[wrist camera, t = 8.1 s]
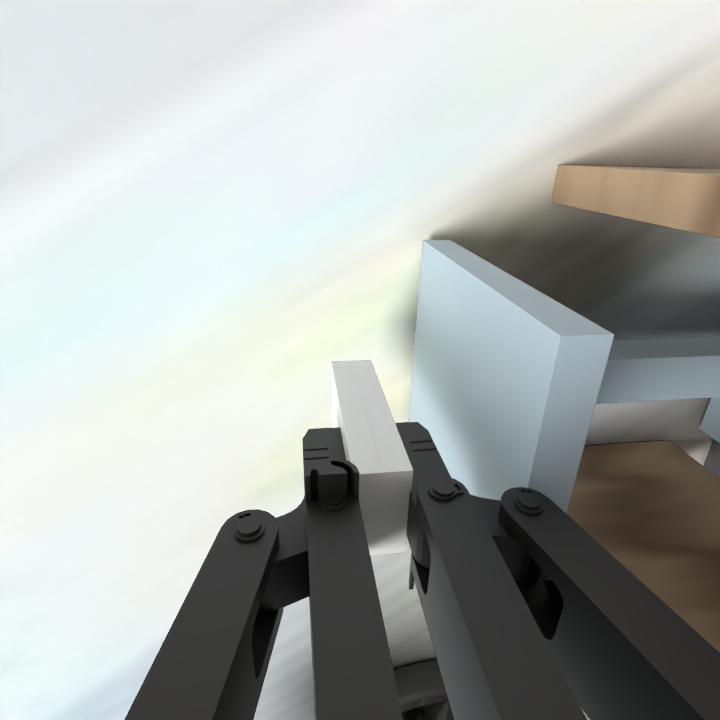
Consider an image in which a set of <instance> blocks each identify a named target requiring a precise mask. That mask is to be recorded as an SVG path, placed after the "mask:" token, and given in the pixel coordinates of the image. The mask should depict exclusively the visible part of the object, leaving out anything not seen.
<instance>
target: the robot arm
mask: <svg viewBox="0 0 720 720" xmlns="http://www.w3.org/2000/svg"><path fill="white" fill-rule="evenodd" d="M331 416H332V428H320V429H309V430H308V431H307V433H306V434H305V436H304V438H303V461H304V487H305V496H304V499H303V501H302V503H301V504H300V505H299V506H298V507H297V508H296V509H295V510H293V511H292V512H290V513H288V514H285V515H283V516H280V517H277V518H275V517H274V516H273V515H271V514H270V513H268V512H266V511H262V510H246V511H243V512H240V513H237V514H235V515H234V516H232V517H230V518H229V519H227V521H226V522H225V523H224V525H223V526H222V527H221V529H220V531H219V533H218V535H217V537H216V539H215V541H214V543H213V545H212V547H211V549H210V551H209V553H208V555H207V557H206V559H205V561H204V563H203V565H202V567H201V569H200V571H199V573H198V575H197V577H196V579H195V581H194V583H193V585H192V587H191V589H190V591H189V593H188V595H187V597H186V599H185V601H184V603H183V604H182V606H181V608H180V610H179V612H178V614H177V616H176V618H175V620H174V622H173V624H172V626H171V628H170V630H169V632H168V634H167V636H166V638H165V640H164V642H163V644H162V646H161V648H160V650H159V652H158V654H157V656H156V658H155V660H154V662H153V664H152V666H151V668H150V670H149V672H148V674H147V676H146V678H145V680H144V682H143V684H142V686H141V688H140V690H139V692H138V694H137V696H136V698H135V700H134V702H133V704H132V706H131V708H130V710H129V712H128V714H127V716H126V718H125V720H253V719H254V715H255V711H256V708H257V704H258V701H259V697H260V693H261V690H262V686H263V682H264V679H265V675H266V672H267V668H268V664H269V661H270V657H271V654H272V650H273V646H274V643H275V639H276V635H277V632H278V628H279V625H280V621H281V617H282V614H283V607H285V606H287V605H290V604H292V603H294V602H297V601H299V600H301V599H304V598H306V597H308V596H309V601H310V623H311V644H312V666H313V687H314V708H315V720H587V719H586V717H585V715H584V714H583V712H582V710H581V708H582V709H583V710H584V712H585V713H586V714H587V716H588V717H589V718H590V720H720V652H718V651H717V650H716V649H715V648H714V647H713V646H712V645H711V644H710V643H708V642H707V641H706V640H705V639H704V638H703V637H702V636H701V635H700V634H699V633H697V632H696V631H695V630H694V629H693V628H692V627H691V626H690V625H689V624H687V623H686V622H685V621H684V620H683V619H682V618H681V617H680V616H679V615H678V614H676V613H675V612H674V611H673V610H672V609H671V608H670V607H669V606H668V605H667V604H665V603H664V602H663V601H662V600H661V599H660V598H659V597H658V596H657V595H655V594H654V593H653V592H652V591H651V590H650V589H649V588H648V587H647V586H646V585H644V584H643V583H642V582H641V581H640V580H639V579H638V578H637V577H636V576H634V575H633V574H632V573H631V572H630V571H629V570H628V569H627V568H626V567H625V566H623V565H622V564H621V563H620V562H619V561H618V560H617V559H616V558H615V557H614V556H612V555H611V554H610V553H609V552H608V551H607V550H606V549H605V548H604V547H602V546H601V545H600V544H599V543H598V542H597V541H596V540H595V539H594V538H593V537H591V536H590V535H589V534H588V533H587V532H586V531H585V530H584V529H583V528H581V527H580V526H579V525H578V524H577V523H576V522H575V521H574V520H573V519H572V518H570V517H569V516H568V515H567V514H566V513H565V512H564V511H563V510H562V509H561V508H559V507H558V506H557V505H556V504H555V503H554V502H553V501H552V500H551V499H549V498H548V497H547V496H545V495H544V494H542V493H541V492H538V491H536V490H533V489H530V488H524V487H516V488H510V489H508V490H506V491H504V493H503V495H502V496H501V500H494V499H487V498H482V497H477V496H474V495H471V494H470V493H469V491H468V490H467V488H466V487H465V486H464V485H463V484H462V483H461V482H459V481H457V480H456V479H454V478H451V476H450V474H449V472H448V470H447V468H446V466H445V464H444V462H443V460H442V458H441V456H440V453H439V451H438V450H437V447H436V445H435V443H434V442H433V439H432V437H431V435H430V433H429V431H428V430H427V429H426V428H425V427H423V426H422V425H421V424H420V423H418V422H405V423H395V422H394V419H393V416H392V414H391V411H390V409H389V406H388V403H387V401H386V398H385V396H384V393H383V390H382V388H381V385H380V383H379V380H378V377H377V375H376V372H375V370H374V367H373V364H372V362H371V360H360V361H334V362H331ZM407 538H408V541H409V544H410V547H411V550H412V553H411V564H410V575H409V589H413V587H414V580H415V584H416V587H417V591H418V594H419V598H420V601H421V605H422V608H423V612H424V615H425V619H426V622H427V626H428V629H429V633H430V636H431V640H432V643H433V647H434V650H435V654H436V657H437V661H429V662H422V663H417V664H413V665H409V666H405V667H402V668H399V669H396V670H393V667H392V662H391V657H390V652H389V647H388V642H387V637H386V632H385V627H384V622H383V617H382V612H381V607H380V602H379V597H378V592H377V587H376V582H375V577H374V572H373V567H372V562H371V557H370V555H381V554H391V553H402V552H406V550H407ZM579 705H580V706H581V708H580V706H579Z"/></svg>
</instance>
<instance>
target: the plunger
mask: <svg viewBox="0 0 720 720" xmlns="http://www.w3.org/2000/svg"><path fill="white" fill-rule="evenodd" d="M613 338H614V334H613V333H611V332H609V331H607V330H606V329H604V328H602V327H600V326H599V325H597V324H595V323H594V322H592V321H590V320H588V319H587V318H585V317H583V316H581V315H580V314H578V313H576V312H574V311H573V310H571V309H569V308H567V307H566V306H564V305H562V304H561V303H559V302H557V301H555V300H554V299H552V298H550V297H548V296H547V295H545V294H543V293H541V292H540V291H538V290H536V289H534V288H533V287H531V286H529V285H528V284H526V283H524V282H522V281H521V280H519V279H517V278H515V277H514V276H512V275H510V274H508V273H507V272H505V271H503V270H501V269H500V268H498V267H496V266H495V265H493V264H491V263H489V262H488V261H486V260H484V259H482V258H481V257H479V256H477V255H475V254H474V253H472V252H470V251H468V250H467V249H465V248H463V247H462V246H460V245H458V244H456V243H455V242H453V241H451V240H423V241H422V254H421V267H420V280H419V293H418V305H417V318H416V331H415V344H414V357H413V370H412V382H411V395H410V408H409V421H408V422H418V423H420V424H421V425H422V426H423V427H425V428H426V429H427V430H428V431H429V433H430V435H431V437H432V439H433V442H434V443H435V445H436V447H437V450H438V451H439V453H440V456H441V458H442V460H443V462H444V464H445V466H446V468H447V470H448V472H449V474H450V476H451V478H454V479H456V480H457V481H459V482H461V483H462V484H463V485H464V486H465V487H466V488H467V490H468V491H469V493H470V494H471V495H474V496H477V497H482V498H487V499H494V500H501V496H502V495H503V493H504V491H506V490H508V489H510V488H516V487H524V488H530V489H533V490H536V491H538V492H541V493H542V494H544V495H545V496H547V497H548V498H549V499H551V500H552V501H553V502H554V503H555V504H556V505H557V506H558V507H559V508H561V509H562V510H563V511H564V512H565V513H566V512H567V508H568V504H569V500H570V497H571V493H572V489H573V486H574V482H575V478H576V475H577V471H578V467H579V463H580V460H581V456H582V452H583V449H584V445H585V441H586V438H587V434H588V430H589V426H590V423H591V419H592V415H593V412H594V408H595V404H600V403H619V402H638V401H656V400H675V399H694V398H711V400H710V402H709V405H708V407H707V410H706V412H705V415H704V418H703V420H702V423H701V425H700V428H699V429H700V430H701V431H703V432H704V433H706V434H707V435H709V436H710V437H711V438H713V439H714V440H716V441H717V442H719V443H720V336H718V337H688V338H657V339H627V340H613Z"/></svg>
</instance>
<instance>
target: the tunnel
mask: <svg viewBox="0 0 720 720" xmlns="http://www.w3.org/2000/svg"><path fill="white" fill-rule="evenodd" d="M552 203H556V204H561V205H566V206H570V207H575V208H580V209H585V210H590V211H594V212H599V213H604V214H609V215H613V216H618V217H623V218H628V219H633V220H637V221H642V222H647V223H652V224H656V225H661V226H666V227H671V228H675V229H680V230H685V231H690V232H695V233H699V234H704V235H709V236H714V237H718V238H720V169H718V168H673V167H628V166H582V165H558V170H557V176H556V181H555V186H554V192H553V197H552ZM566 514H567V515H568V516H569V517H570V518H572V519H573V520H574V521H575V522H576V523H577V524H578V525H579V526H580V527H581V528H583V529H584V530H585V531H586V532H587V533H588V534H589V535H590V536H591V537H593V538H594V539H595V540H596V541H597V542H598V543H599V544H600V545H601V546H602V547H604V548H605V549H606V550H607V551H608V552H609V553H610V554H611V555H612V556H614V557H615V558H616V559H617V560H618V561H619V562H620V563H621V564H622V565H623V566H625V567H626V568H627V569H628V570H629V571H630V572H631V573H632V574H633V575H634V576H636V577H637V578H638V579H639V580H640V581H641V582H642V583H643V584H644V585H646V586H647V587H648V588H649V589H650V590H651V591H652V592H653V593H654V594H655V595H657V596H658V597H659V598H660V599H661V600H662V601H663V602H664V603H665V604H667V605H668V606H669V607H670V608H671V609H672V610H673V611H674V612H675V613H676V614H678V615H679V616H680V617H681V618H682V619H683V620H684V621H685V622H686V623H687V624H689V625H690V626H691V627H692V628H693V629H694V630H695V631H696V632H697V633H699V634H700V635H701V636H702V637H703V638H704V639H705V640H706V641H707V642H708V643H710V644H711V645H712V646H713V647H714V648H715V649H716V650H717V651H718V652H720V479H719V478H718V477H716V476H715V475H714V474H712V473H711V472H710V471H709V470H707V469H706V468H705V467H703V466H702V465H701V464H699V463H698V462H697V461H696V460H694V459H693V458H692V457H690V456H689V455H688V454H686V453H685V452H684V451H683V450H681V449H680V448H679V447H677V446H676V445H675V444H673V443H672V442H671V441H670V440H661V441H646V442H631V443H616V444H601V445H585V446H584V449H583V452H582V456H581V460H580V463H579V467H578V471H577V475H576V478H575V482H574V486H573V489H572V493H571V497H570V500H569V504H568V508H567V512H566Z"/></svg>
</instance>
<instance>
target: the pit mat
mask: <svg viewBox="0 0 720 720" xmlns="http://www.w3.org/2000/svg"><path fill="white" fill-rule="evenodd" d="M703 467H705V468H706V469H707V470H709V471H710V472H711V473H712V474H714V475H715V476H716V477H718V478H719V479H720V443H719V442H717V441H716V440H714V442H713V444H712V447H711V449H710V451H709V454H708V456H707V459H706V461H705V464H704V466H703Z"/></svg>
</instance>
